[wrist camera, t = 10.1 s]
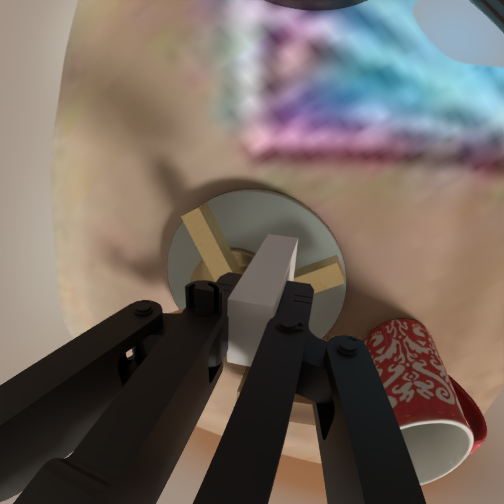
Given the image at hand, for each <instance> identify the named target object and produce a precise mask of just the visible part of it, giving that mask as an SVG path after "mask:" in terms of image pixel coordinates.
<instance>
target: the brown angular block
mask: <svg viewBox="0 0 504 504" xmlns="http://www.w3.org/2000/svg"><path fill="white" fill-rule="evenodd" d="M249 369H250V367H248V366H247V368H246V370H245V373H244V375H243V378H242V380H241V383H240V385H239V388H238V391H237V399H238V397H239V394H240V392H241V389H242V387H243V384H244V382H245V379H246V377H247V374H248V372H249ZM312 404H313V401H311V400H309V399H307V398H304V397H302V396H300V395H298V394H295V398H294V402H293V407H292V411H291V415H290V420H289V421H290V422H296V423H303V424H310V425H316V424H315V418H314V412H313V406H312Z"/></svg>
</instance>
